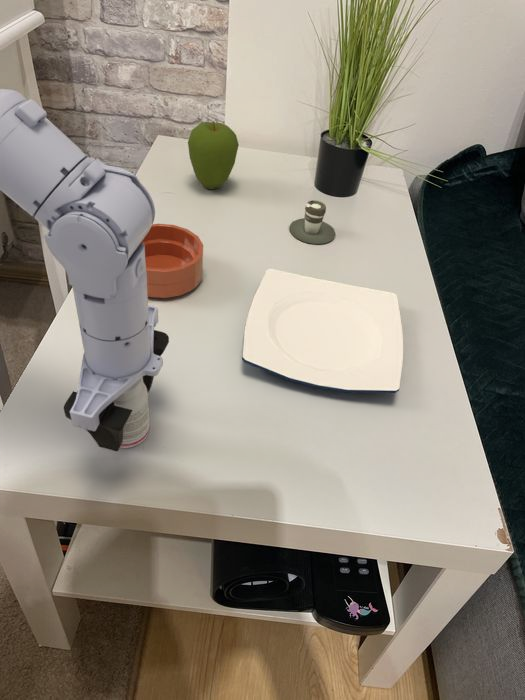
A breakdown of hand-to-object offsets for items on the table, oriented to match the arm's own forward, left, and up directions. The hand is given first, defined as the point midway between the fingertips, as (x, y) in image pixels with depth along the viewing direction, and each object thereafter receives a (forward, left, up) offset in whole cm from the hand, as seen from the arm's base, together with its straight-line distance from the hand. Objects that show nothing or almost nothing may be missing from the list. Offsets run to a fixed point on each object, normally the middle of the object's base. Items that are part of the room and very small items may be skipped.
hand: (125, 416), depth 54 cm
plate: (+23, +16, -3) cm, 28 cm away
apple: (+7, +54, -3) cm, 55 cm away
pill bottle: (0, 0, -3) cm, 3 cm away
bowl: (+1, +27, -2) cm, 27 cm away
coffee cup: (+24, +42, -3) cm, 48 cm away
